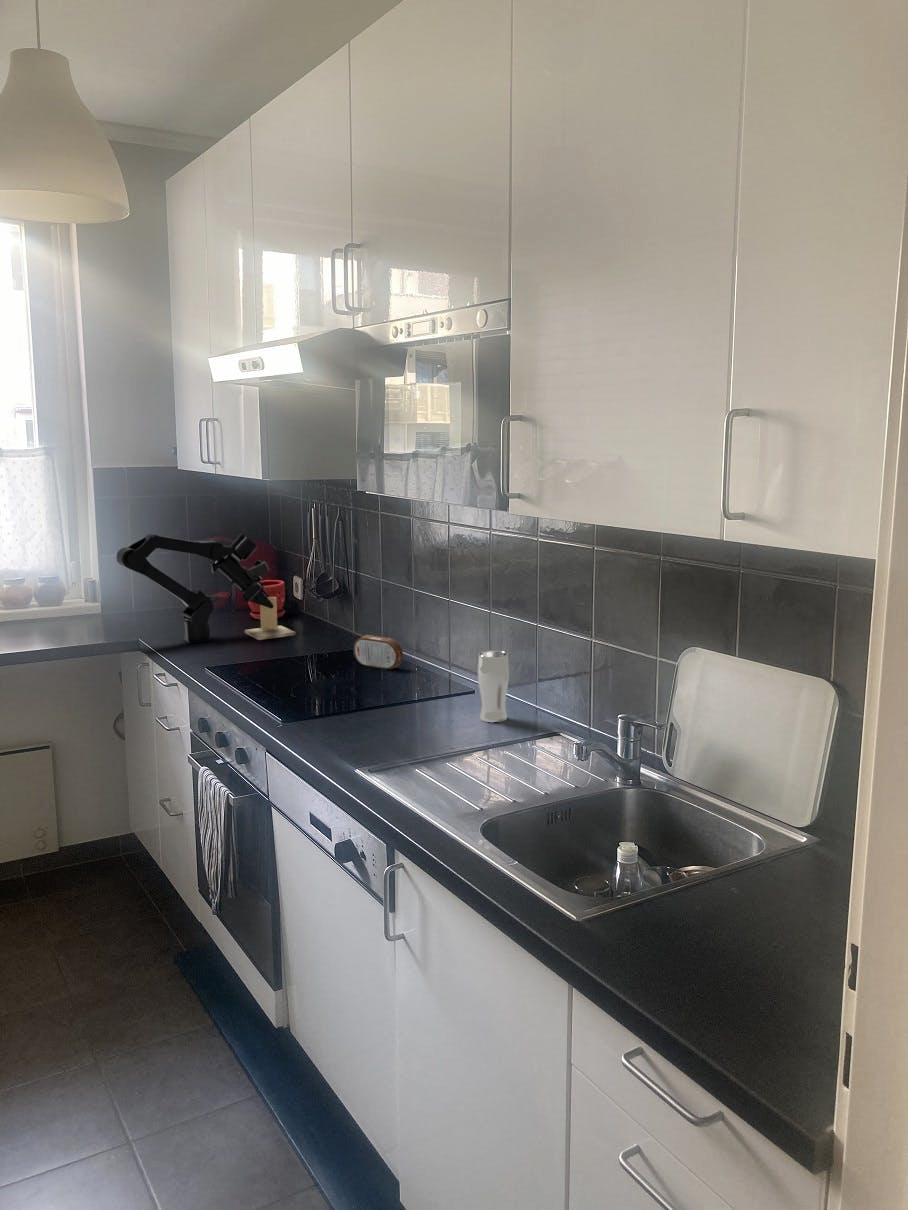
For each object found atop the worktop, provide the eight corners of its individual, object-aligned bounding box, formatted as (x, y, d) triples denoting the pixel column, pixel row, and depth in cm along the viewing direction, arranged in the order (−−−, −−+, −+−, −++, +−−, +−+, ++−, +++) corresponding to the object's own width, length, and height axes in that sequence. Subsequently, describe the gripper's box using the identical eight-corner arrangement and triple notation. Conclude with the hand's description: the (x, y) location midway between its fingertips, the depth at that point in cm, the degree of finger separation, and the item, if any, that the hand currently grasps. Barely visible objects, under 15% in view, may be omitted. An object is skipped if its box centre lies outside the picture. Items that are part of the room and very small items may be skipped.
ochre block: (260, 628, 308) (259, 600, 306) (261, 625, 313) (260, 597, 311) (277, 628, 309) (276, 599, 307) (277, 624, 313) (276, 596, 312)
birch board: (258, 640, 303) (258, 636, 303) (244, 633, 313) (244, 629, 313) (295, 635, 309) (295, 632, 309) (280, 628, 319) (280, 625, 319)
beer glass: (483, 724, 218) (482, 658, 215) (474, 715, 224) (473, 651, 222) (513, 721, 220) (513, 656, 217) (503, 713, 226) (503, 649, 223)
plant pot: (277, 612, 346) (275, 578, 344) (292, 618, 335) (290, 583, 333) (241, 616, 340) (239, 581, 337) (255, 622, 329) (253, 587, 326)
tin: (404, 669, 266) (403, 638, 265) (397, 672, 264) (396, 641, 262) (359, 662, 274) (358, 633, 273) (352, 665, 272) (351, 635, 270)
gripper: (252, 557, 297) (291, 592, 300) (254, 549, 315) (290, 582, 319) (226, 584, 297) (265, 618, 301) (229, 574, 315) (266, 607, 319)
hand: (272, 605), depth 310 cm, fingers closed on ochre block, 5 cm apart
